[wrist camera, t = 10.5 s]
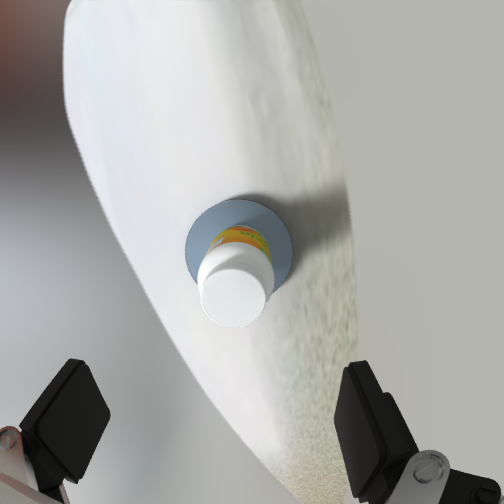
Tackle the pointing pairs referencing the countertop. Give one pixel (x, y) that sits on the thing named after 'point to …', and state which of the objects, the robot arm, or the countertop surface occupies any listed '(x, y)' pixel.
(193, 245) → the pale blue round plate
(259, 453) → the countertop surface
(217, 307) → the supplement bottle
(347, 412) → the robot arm
